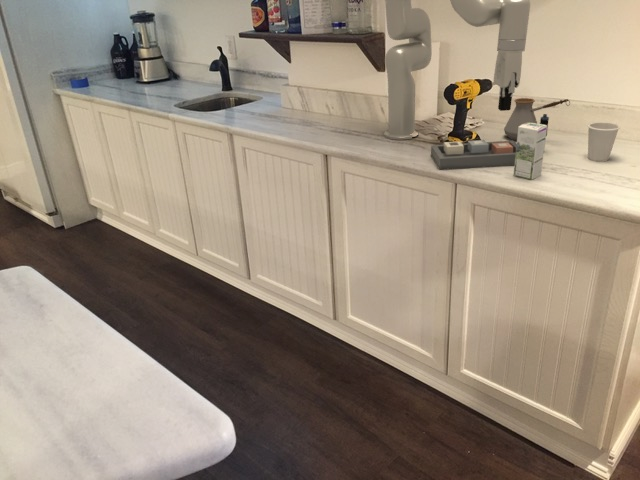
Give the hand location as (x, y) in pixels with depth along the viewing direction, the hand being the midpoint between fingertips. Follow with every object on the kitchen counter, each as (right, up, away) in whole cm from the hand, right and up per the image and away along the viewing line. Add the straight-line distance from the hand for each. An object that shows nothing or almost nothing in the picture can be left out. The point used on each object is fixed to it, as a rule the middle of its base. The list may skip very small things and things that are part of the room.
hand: (504, 109), depth 161 cm
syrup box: (+4, -21, -8) cm, 23 cm away
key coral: (+1, -12, +5) cm, 13 cm away
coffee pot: (+17, -5, +22) cm, 28 cm away
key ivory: (-14, -12, +5) cm, 19 cm away
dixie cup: (+29, -15, +1) cm, 32 cm away
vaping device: (+14, -11, +11) cm, 21 cm away
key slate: (-6, -11, +5) cm, 14 cm away
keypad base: (-6, -14, +6) cm, 17 cm away
